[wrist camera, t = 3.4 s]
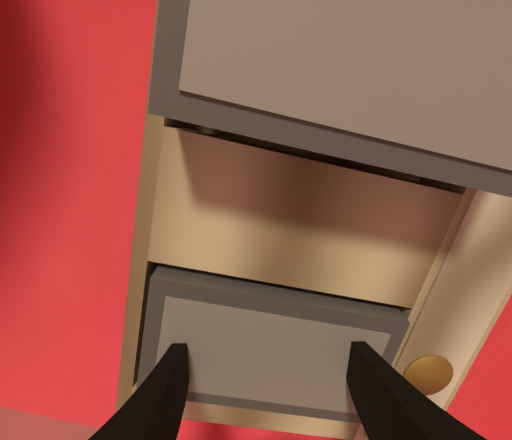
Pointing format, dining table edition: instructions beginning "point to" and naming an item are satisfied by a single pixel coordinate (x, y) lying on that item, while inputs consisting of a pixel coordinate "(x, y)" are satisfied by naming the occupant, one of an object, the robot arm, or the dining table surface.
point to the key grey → (348, 80)
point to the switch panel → (319, 249)
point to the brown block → (264, 341)
